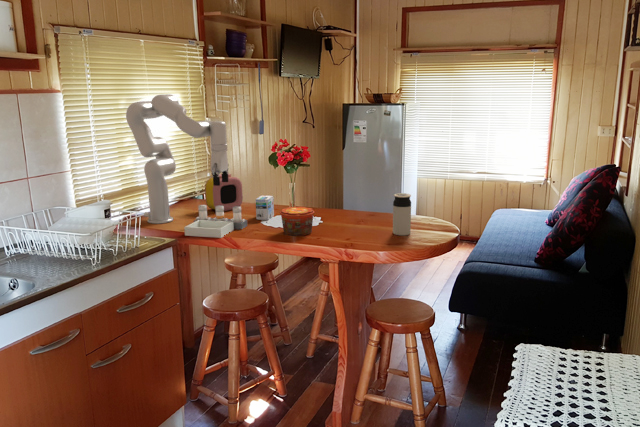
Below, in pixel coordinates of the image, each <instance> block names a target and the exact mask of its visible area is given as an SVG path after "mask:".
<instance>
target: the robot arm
mask: <svg viewBox="0 0 640 427" xmlns="http://www.w3.org/2000/svg"><path fill="white" fill-rule="evenodd" d="M163 116H164V117H166V118H168V119H169V120H171V121H172V122H174V123H175V125H176V126H177V128H179V130H180V131H182V132H183V133H185V134H187V135H189V136H190V137H193V138H195V139H196V138H197V139H199V138H207V137H210V151H211V152H210V153H211V154H210V171H211V175H212V177H213V185H214V186H220V177H219V175H220V174H222V182H228V174H229V161H228V160H229V159H228V138H227V136H228V135H227V134H228V133H227V123H226V122H225V121H223V120H215V121H211V120H198V121H197V120H195V119H193V118H191V117H189V116H188V115H187V109H186V107H185V106H183V105H181V104H180V102H179V100H178V98H177V97H176V96H175V95H173V94H157V95H155V96H154V97H153V98H152V99H151V100H150V101H149V100H148V101H144V100H143V101H142V100H141V101H136V102H132V103H131V104H129V106H128V107H127V109H126V111H125V120H126V122H127V124H128V126H129V128H130V131H131V132H132V135H133V138H134V141H135V142H136V145H137V147H138V151H139V153H140V154H141V156H142V157H144V158H153V159H150V160H148V161H147V162H145V165H144V167H143V170H144V176H145V178H146V183H147V185H146V186H147V192H148V194H147V195H148V204H149V212H147V211H145V212H144V214H143V217H147V218H148V219H147V223H149V224H154V225H155V224H156V225H157V224H166V223H171V222H173V221H174V217H173V216H171V214H170V204H169V202H170V201H169V200H170V199H169V188H168V183H167V181H166V179H165V177H168V176H171V175H173V174H174V173H175V171H176V168H177V165H176V161H175V159H174V156H173V153H172V151H171V148H170V146H169V144H168V142H167V141H166V139H165V138H163V137H160V136H153V133H152V130H151V128H150V126H149V125H148V124H147V123H146V122H145V120H147V119H151V120H152V119H156V118H160V117H163ZM154 157H155V158H154ZM212 177H211V178H212Z"/></svg>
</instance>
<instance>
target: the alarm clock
mask: <svg viewBox="0 0 640 427" xmlns="http://www.w3.org/2000/svg"><path fill="white" fill-rule="evenodd" d="M219 177H220V186H214V185H213V177H210V178H209V179H207V181H206V182H205V185H204V191H205V194H204V195H205V196H204V197H205V202H206V204H205V205H207V208H209V209H211V210H215V211H216V209H215V206H224V212H227V211H233V207H235V206H240V207H242V206H241V205H242V203H243V198H244V197H243V184H242V181H241V179H240V178H238V177H237V176H232V173H231V174H230V173H228V182H222V173H220V174H219Z"/></svg>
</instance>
